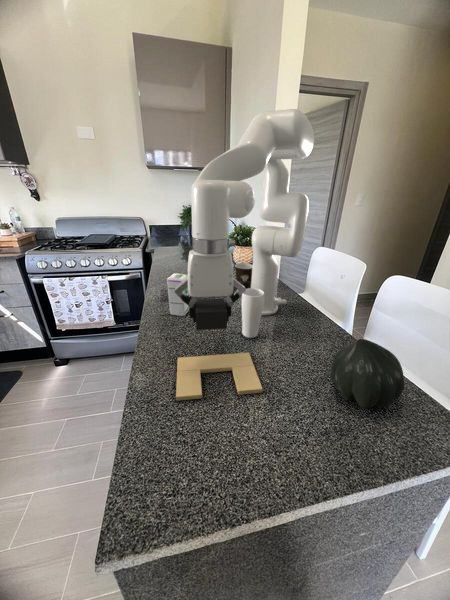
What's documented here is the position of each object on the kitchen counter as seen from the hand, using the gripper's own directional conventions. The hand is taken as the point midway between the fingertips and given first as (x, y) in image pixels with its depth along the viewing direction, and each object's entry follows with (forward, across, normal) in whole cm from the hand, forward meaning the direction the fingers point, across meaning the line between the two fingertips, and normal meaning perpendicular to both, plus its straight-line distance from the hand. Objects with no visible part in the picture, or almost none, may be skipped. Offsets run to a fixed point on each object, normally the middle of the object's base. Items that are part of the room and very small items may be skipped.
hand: (210, 318), depth 60 cm
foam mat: (+15, -1, +3) cm, 15 cm away
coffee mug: (+15, -22, -56) cm, 62 cm away
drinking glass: (+15, -14, -15) cm, 26 cm away
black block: (+1, 0, 0) cm, 1 cm away
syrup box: (+15, +9, -33) cm, 37 cm away
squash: (+15, -34, +12) cm, 40 cm away
